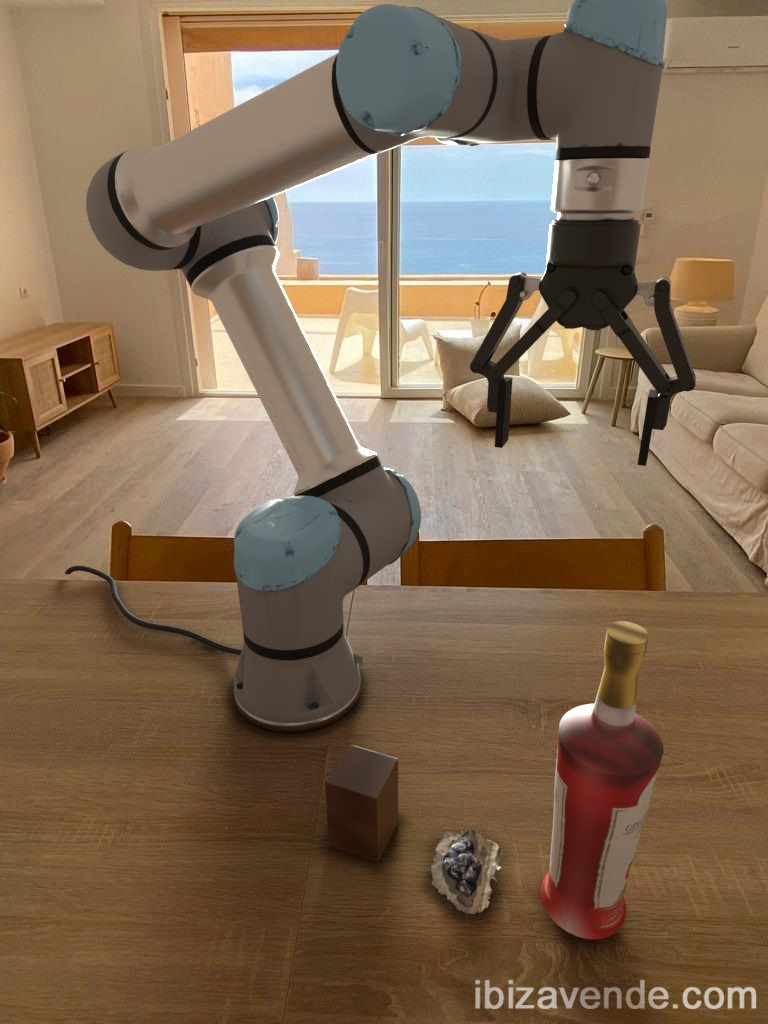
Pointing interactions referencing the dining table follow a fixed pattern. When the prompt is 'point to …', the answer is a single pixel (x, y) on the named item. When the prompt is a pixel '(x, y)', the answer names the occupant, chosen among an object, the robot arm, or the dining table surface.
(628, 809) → the liquor
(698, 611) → the dining table surface
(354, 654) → the robot arm
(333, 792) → the walnut block
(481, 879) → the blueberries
